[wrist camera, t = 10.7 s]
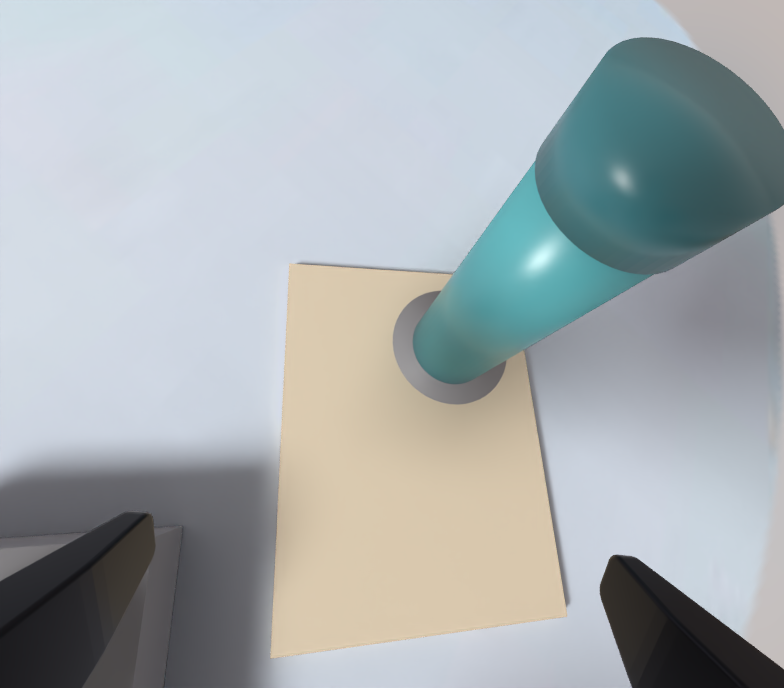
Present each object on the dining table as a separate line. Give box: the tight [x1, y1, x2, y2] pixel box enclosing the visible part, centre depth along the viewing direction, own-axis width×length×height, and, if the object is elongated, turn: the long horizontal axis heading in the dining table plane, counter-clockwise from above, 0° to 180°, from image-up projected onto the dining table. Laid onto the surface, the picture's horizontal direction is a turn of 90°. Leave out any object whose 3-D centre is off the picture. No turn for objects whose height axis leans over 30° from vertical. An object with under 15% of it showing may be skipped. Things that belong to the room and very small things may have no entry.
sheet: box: [270, 264, 567, 659], centre depth 17 cm, size 16×12×1 cm
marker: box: [413, 38, 784, 384], centre depth 13 cm, size 4×4×13 cm
